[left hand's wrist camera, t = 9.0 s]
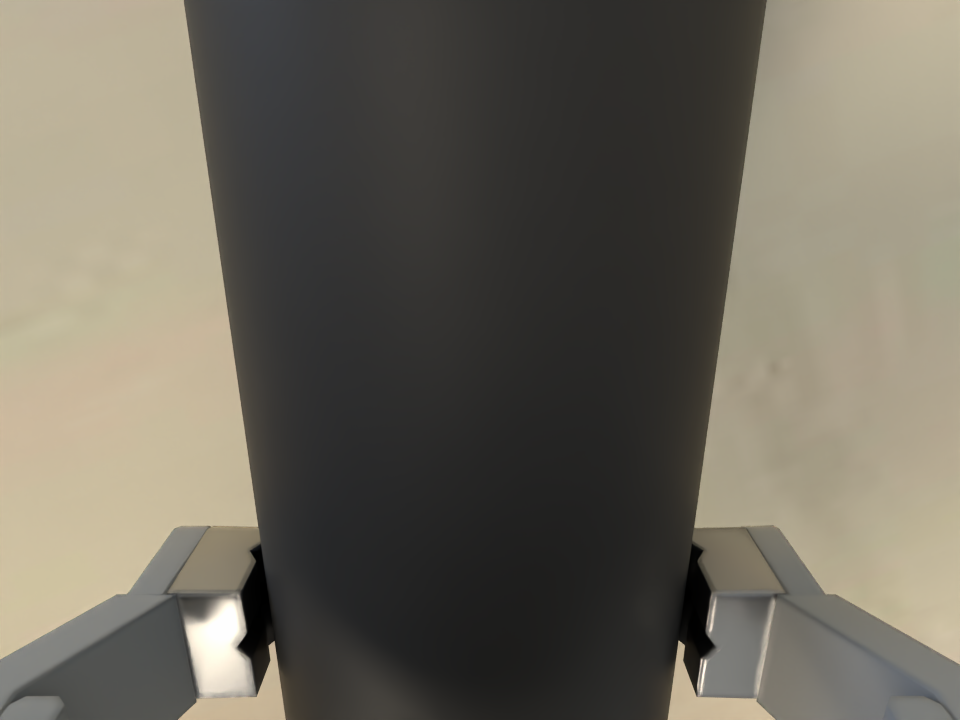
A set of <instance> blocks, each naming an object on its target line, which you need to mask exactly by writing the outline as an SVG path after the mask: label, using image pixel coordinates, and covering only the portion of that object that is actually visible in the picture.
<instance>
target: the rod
mask: <svg viewBox="0 0 960 720" xmlns="http://www.w3.org/2000/svg"><path fill="white" fill-rule="evenodd" d="M766 1H767V0H184V5H185V12H186V19H187V26H188V33H189V40H190V47H191V54H192V61H193V68H194V75H195V82H196V89H197V96H198V103H199V111H200V118H201V125H202V132H203V139H204V146H205V153H206V160H207V167H208V174H209V181H210V188H211V195H212V202H213V209H214V216H215V223H216V230H217V237H218V245H219V252H220V259H221V266H222V273H223V280H224V287H225V294H226V301H227V308H228V315H229V322H230V329H231V336H232V343H233V350H234V357H235V364H236V371H237V379H238V386H239V393H240V400H241V407H242V414H243V421H244V428H245V435H246V442H247V449H248V456H249V463H250V470H251V477H252V484H253V491H254V498H255V505H256V513H257V520H258V527H259V534H260V541H261V548H262V555H263V562H264V569H265V576H266V583H267V590H268V597H269V604H270V611H271V618H272V625H273V632H274V639H275V647H276V654H277V661H278V668H279V675H280V682H281V689H282V696H283V703H284V710H285V717H286V720H668V713H669V705H670V698H671V691H672V684H673V676H674V669H675V662H676V655H677V647H678V640H679V633H680V625H681V618H682V611H683V604H684V596H685V589H686V582H687V575H688V567H689V560H690V553H691V546H692V538H693V531H694V524H695V517H696V509H697V502H698V495H699V488H700V480H701V473H702V466H703V458H704V451H705V444H706V437H707V429H708V422H709V415H710V408H711V400H712V393H713V386H714V379H715V371H716V364H717V357H718V350H719V342H720V335H721V328H722V320H723V313H724V306H725V299H726V291H727V284H728V277H729V270H730V262H731V255H732V248H733V241H734V233H735V226H736V219H737V212H738V204H739V197H740V190H741V183H742V175H743V168H744V161H745V153H746V146H747V139H748V132H749V124H750V117H751V110H752V103H753V95H754V88H755V81H756V74H757V66H758V59H759V52H760V45H761V37H762V30H763V23H764V16H765V8H766Z"/></svg>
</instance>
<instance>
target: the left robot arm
mask: <svg viewBox="0 0 960 720" xmlns="http://www.w3.org/2000/svg"><path fill="white" fill-rule="evenodd" d="M273 641H275V639H274V632H273V625H272V618H271V611H270V604H269V597H268V590H267V583H266V576H265V569H264V562H263V555H262V548H261V541H260V534H259V527H235V526H213V527H211V526H180V527H178V528H175V529H174V530H173V531H172V532H171V534H170V535H169V536H168V538H167V539H166V541H165V542H164V543H163V545H162V546H161V548H160V549H159V550H158V552H157V553H156V555H155V556H154V557H153V559H152V560H151V562H150V563H149V564H148V566H147V567H146V569H145V570H144V571H143V573H142V574H141V576H140V577H139V578H138V580H137V581H136V583H135V584H134V585H133V587H132V588H131V590H130V591H129V592H128V594H125V595H115V596H113V597H112V598H110V599H108V600H106V601H104V602H103V603H101V604H99V605H97V606H95V607H94V608H92V609H90V610H88V611H86V612H85V613H83V614H81V615H79V616H78V617H76V618H74V619H72V620H70V621H69V622H67V623H65V624H63V625H61V626H60V627H58V628H56V629H54V630H53V631H51V632H49V633H47V634H45V635H44V636H42V637H40V638H38V639H36V640H35V641H33V642H31V643H29V644H28V645H26V646H24V647H22V648H20V649H19V650H17V651H15V652H13V653H11V654H10V655H8V656H6V657H4V658H2V659H1V660H0V720H178V719H179V718H180V717H181V716H182V715H183V714H184V713H185V712H186V711H187V710H188V709H189V708H190V707H192V706H193V705H194V704H195V703H196V698H230V697H257V694H258V691H259V689H260V686H261V684H262V681H263V678H264V676H265V673H266V670H267V668H268V665H269V663H270V654H269V646H268V645H270V644H271V643H272V642H273ZM679 641H680V642H682V643H683V644H684V645H685V651H684V659H683V661H684V664H685V666H686V669H687V672H688V674H689V677H690V680H691V682H692V685H693V688H694V690H695V693H696V696H697V697H722V698H757V702H758V703H759V704H760V705H761V706H762V707H763V708H764V709H765V710H766V711H767V712H768V713H769V714H770V715H772V716H773V717H774V718H775V719H776V720H960V665H959V664H958V663H956V662H954V661H952V660H951V659H949V658H947V657H945V656H943V655H942V654H940V653H938V652H936V651H935V650H933V649H931V648H929V647H928V646H926V645H924V644H922V643H921V642H919V641H917V640H915V639H913V638H912V637H910V636H908V635H906V634H905V633H903V632H901V631H899V630H898V629H896V628H894V627H892V626H891V625H889V624H887V623H885V622H883V621H882V620H880V619H878V618H876V617H875V616H873V615H871V614H869V613H868V612H866V611H864V610H862V609H861V608H859V607H857V606H855V605H853V604H852V603H850V602H848V601H846V600H845V599H843V598H841V597H839V596H838V595H828V594H825V593H824V591H823V590H822V588H821V587H820V586H819V584H818V583H817V581H816V580H815V579H814V577H813V576H812V574H811V573H810V572H809V570H808V569H807V567H806V566H805V564H804V563H803V562H802V560H801V559H800V557H799V556H798V555H797V553H796V552H795V550H794V549H793V548H792V546H791V545H790V543H789V542H788V540H787V539H786V538H785V536H784V535H783V533H782V532H781V531H780V529H779V528H777V527H775V526H773V525H772V526H742V527H725V528H694V531H693V538H692V546H691V553H690V560H689V567H688V575H687V582H686V589H685V596H684V604H683V611H682V618H681V625H680V633H679Z"/></svg>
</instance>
